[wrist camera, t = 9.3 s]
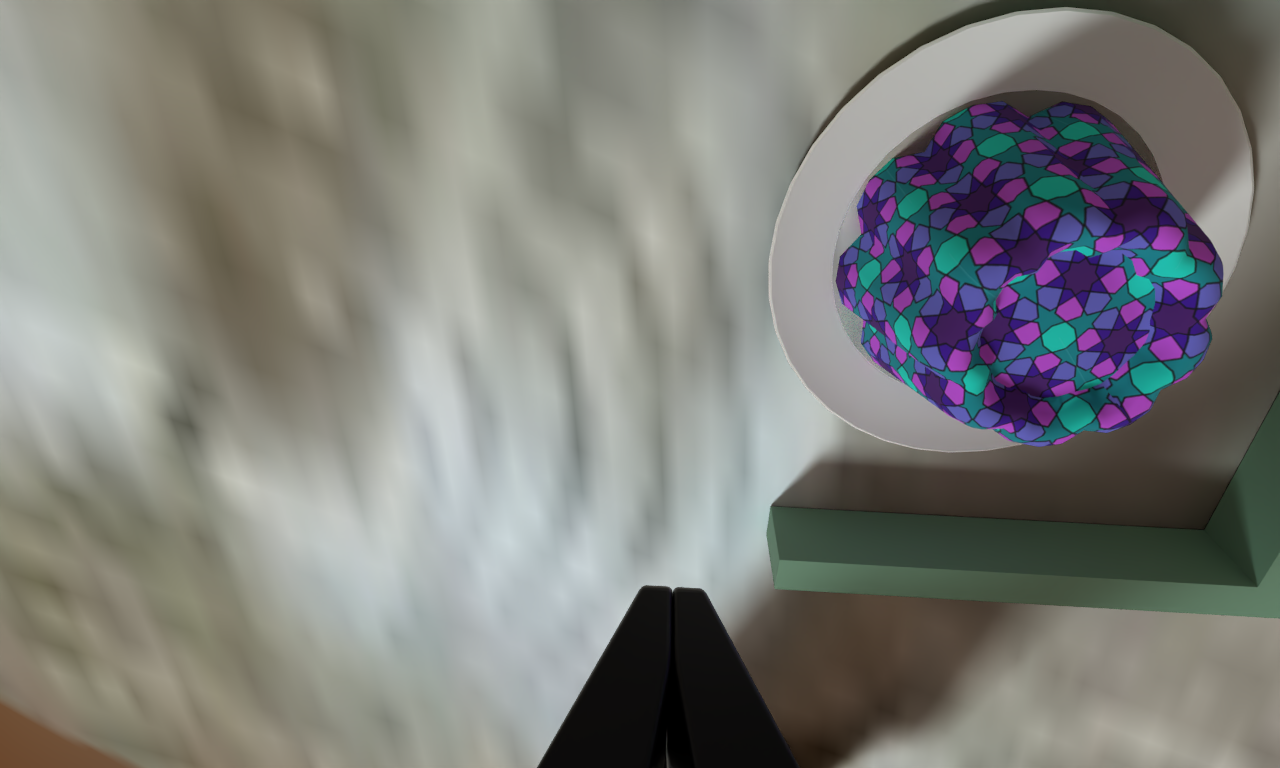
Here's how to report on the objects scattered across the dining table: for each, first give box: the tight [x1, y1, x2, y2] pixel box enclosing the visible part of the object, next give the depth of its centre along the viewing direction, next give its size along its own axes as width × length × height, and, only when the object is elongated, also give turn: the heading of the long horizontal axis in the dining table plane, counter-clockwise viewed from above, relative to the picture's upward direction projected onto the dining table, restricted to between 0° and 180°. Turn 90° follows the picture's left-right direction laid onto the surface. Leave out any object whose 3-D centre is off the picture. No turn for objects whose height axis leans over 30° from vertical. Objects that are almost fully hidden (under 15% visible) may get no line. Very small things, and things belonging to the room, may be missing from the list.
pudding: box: [769, 7, 1254, 452], centre depth 17 cm, size 12×12×5 cm
